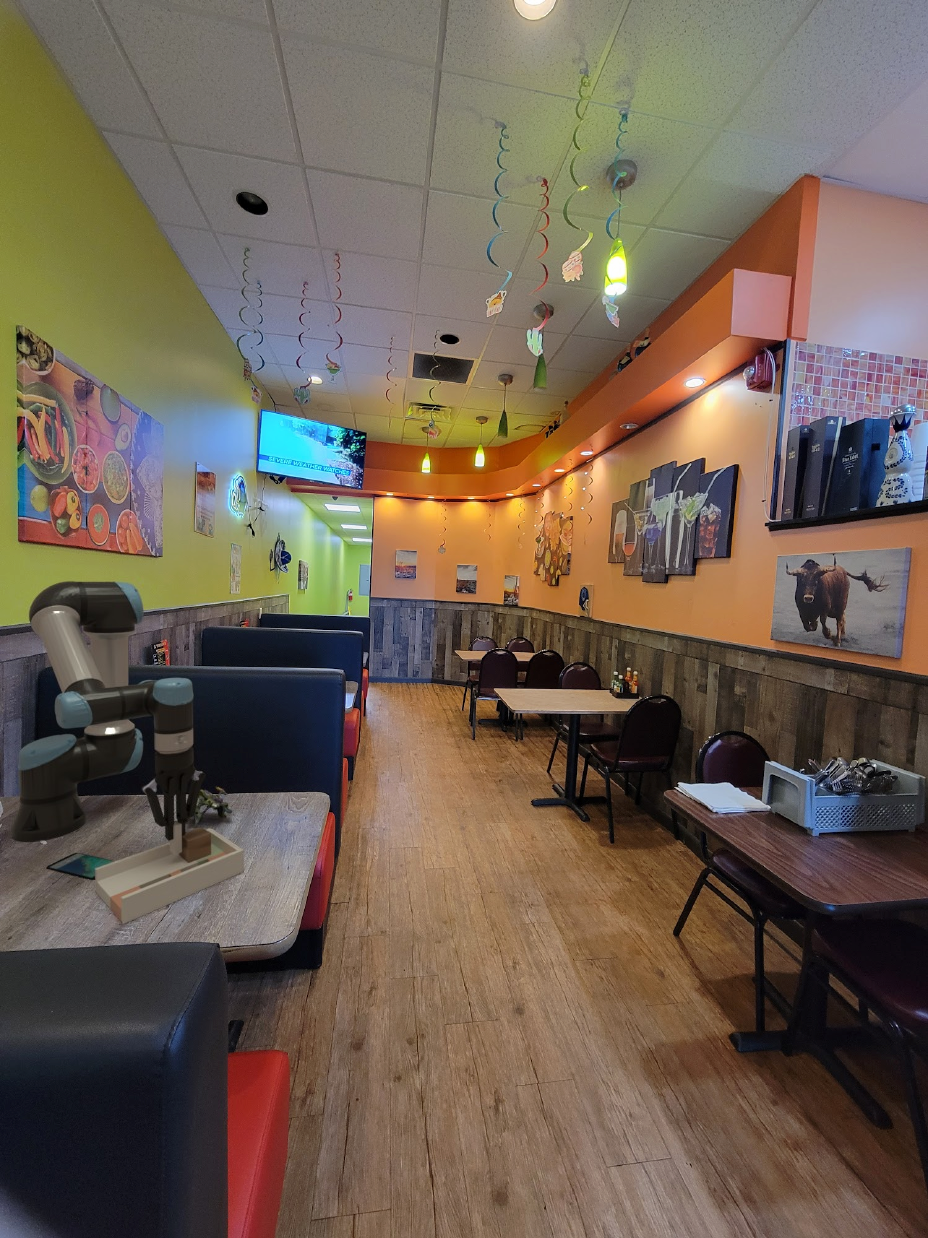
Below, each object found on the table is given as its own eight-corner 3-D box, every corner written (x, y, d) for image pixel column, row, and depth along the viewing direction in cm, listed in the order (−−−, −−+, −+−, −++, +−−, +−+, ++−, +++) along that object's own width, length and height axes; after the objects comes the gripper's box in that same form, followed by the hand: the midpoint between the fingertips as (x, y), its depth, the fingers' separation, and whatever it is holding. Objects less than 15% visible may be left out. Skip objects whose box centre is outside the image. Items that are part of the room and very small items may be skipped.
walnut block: (179, 855, 119) (178, 834, 118) (201, 847, 123) (201, 826, 122) (188, 863, 115) (188, 841, 115) (211, 854, 119) (211, 833, 119)
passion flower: (220, 836, 144) (243, 805, 142) (186, 847, 134) (210, 813, 132) (200, 806, 148) (223, 775, 146) (165, 814, 138) (189, 781, 136)
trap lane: (95, 891, 108) (94, 868, 108) (210, 847, 127) (210, 828, 127) (123, 924, 98) (122, 899, 98) (243, 871, 117) (243, 850, 117)
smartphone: (75, 851, 123) (123, 862, 119) (75, 854, 123) (123, 865, 119) (43, 867, 116) (93, 879, 112) (44, 870, 117) (93, 882, 112)
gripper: (149, 760, 107) (150, 869, 109) (211, 745, 117) (212, 845, 119) (134, 752, 111) (136, 857, 113) (196, 738, 122) (197, 835, 123)
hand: (175, 851), depth 116 cm, fingers closed
